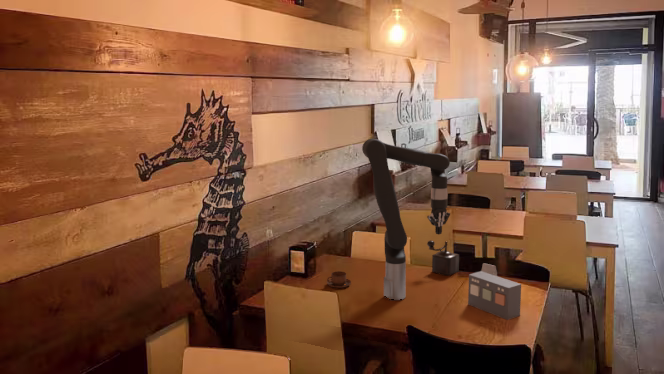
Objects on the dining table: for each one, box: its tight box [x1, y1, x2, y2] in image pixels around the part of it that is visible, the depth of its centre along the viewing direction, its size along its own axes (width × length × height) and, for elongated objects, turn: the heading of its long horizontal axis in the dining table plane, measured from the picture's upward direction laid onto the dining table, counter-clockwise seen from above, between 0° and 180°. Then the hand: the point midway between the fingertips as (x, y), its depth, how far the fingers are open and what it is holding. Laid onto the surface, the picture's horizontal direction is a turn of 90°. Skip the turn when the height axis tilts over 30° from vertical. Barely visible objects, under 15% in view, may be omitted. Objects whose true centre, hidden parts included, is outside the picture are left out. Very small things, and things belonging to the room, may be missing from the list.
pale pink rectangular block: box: [480, 262, 498, 276], centre depth 294 cm, size 4×7×10 cm, turn 46°
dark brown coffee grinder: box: [426, 240, 460, 276], centre depth 311 cm, size 16×11×18 cm
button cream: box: [470, 284, 480, 296], centre depth 264 cm, size 4×4×4 cm
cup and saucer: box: [326, 270, 352, 289], centre depth 295 cm, size 12×12×6 cm
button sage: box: [483, 288, 492, 301], centre depth 259 cm, size 4×4×4 cm
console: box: [467, 270, 522, 321], centre depth 260 cm, size 22×8×14 cm, turn 35°
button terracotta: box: [495, 292, 506, 306], centre depth 253 cm, size 4×4×4 cm
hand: (438, 233), depth 277 cm, fingers closed
